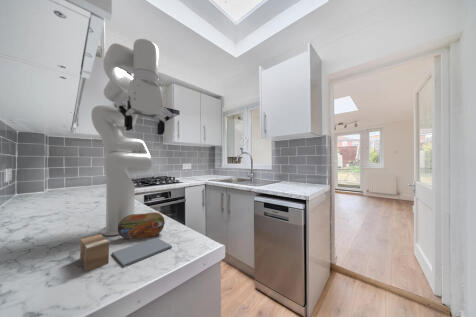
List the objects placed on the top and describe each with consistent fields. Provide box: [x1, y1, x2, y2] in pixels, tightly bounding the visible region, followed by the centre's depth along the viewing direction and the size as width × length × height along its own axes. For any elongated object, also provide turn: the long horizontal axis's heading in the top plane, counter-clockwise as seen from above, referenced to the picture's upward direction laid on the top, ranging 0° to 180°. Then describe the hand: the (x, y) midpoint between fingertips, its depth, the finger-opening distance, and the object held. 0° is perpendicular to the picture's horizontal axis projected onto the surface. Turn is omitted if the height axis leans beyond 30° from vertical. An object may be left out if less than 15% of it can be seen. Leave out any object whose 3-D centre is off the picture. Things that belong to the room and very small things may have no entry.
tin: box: [118, 211, 166, 240], centre depth 62 cm, size 15×3×8 cm, turn 105°
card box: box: [79, 233, 110, 272], centre depth 46 cm, size 9×4×6 cm, turn 50°
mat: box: [111, 237, 172, 268], centre depth 51 cm, size 10×13×1 cm
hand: (145, 132), depth 55 cm, fingers open, 9 cm apart
